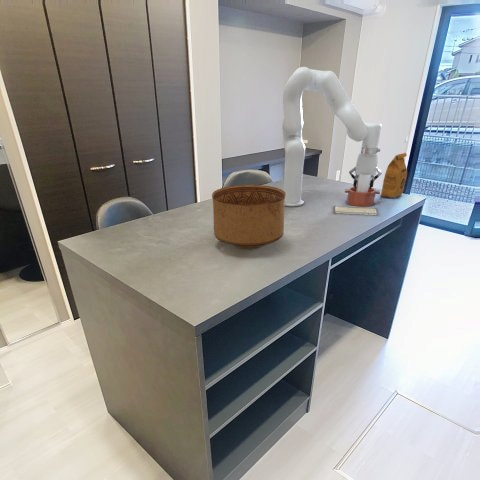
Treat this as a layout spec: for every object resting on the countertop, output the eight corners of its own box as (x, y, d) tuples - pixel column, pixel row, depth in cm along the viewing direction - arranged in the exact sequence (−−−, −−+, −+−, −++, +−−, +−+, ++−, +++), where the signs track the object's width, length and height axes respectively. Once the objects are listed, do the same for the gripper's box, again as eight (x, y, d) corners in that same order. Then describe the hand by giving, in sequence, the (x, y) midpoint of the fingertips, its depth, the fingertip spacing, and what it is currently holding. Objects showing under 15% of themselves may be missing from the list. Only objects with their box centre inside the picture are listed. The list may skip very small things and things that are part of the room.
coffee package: (405, 195, 200) (415, 153, 187) (393, 200, 193) (403, 156, 181) (389, 192, 206) (398, 151, 193) (377, 196, 199) (386, 154, 187)
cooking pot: (343, 205, 185) (345, 192, 181) (342, 198, 196) (344, 185, 192) (378, 207, 182) (381, 193, 178) (376, 200, 193) (378, 187, 189)
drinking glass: (351, 201, 192) (356, 172, 183) (363, 201, 192) (368, 171, 184) (356, 205, 186) (361, 175, 178) (368, 204, 186) (374, 174, 178)
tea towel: (335, 213, 175) (335, 212, 175) (335, 206, 185) (335, 205, 185) (377, 215, 171) (377, 214, 171) (375, 208, 181) (375, 207, 181)
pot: (217, 232, 155) (215, 185, 144) (280, 232, 154) (283, 184, 143) (211, 258, 132) (208, 204, 121) (285, 258, 131) (288, 203, 120)
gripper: (386, 150, 176) (379, 187, 186) (350, 149, 180) (345, 185, 190) (388, 152, 170) (380, 190, 180) (351, 152, 174) (345, 189, 183)
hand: (362, 187), depth 185 cm, fingers open, 7 cm apart
